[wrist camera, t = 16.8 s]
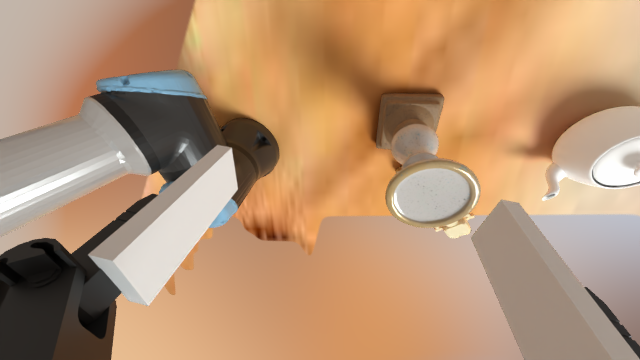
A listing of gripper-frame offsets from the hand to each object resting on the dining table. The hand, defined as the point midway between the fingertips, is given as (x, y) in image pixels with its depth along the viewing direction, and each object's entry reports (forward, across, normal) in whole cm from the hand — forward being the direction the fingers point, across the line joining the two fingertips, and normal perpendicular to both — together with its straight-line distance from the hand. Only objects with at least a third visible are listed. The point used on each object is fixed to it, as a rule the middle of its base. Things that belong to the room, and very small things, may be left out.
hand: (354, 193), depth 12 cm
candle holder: (+37, +10, -9) cm, 39 cm away
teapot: (+37, +42, -7) cm, 56 cm away
